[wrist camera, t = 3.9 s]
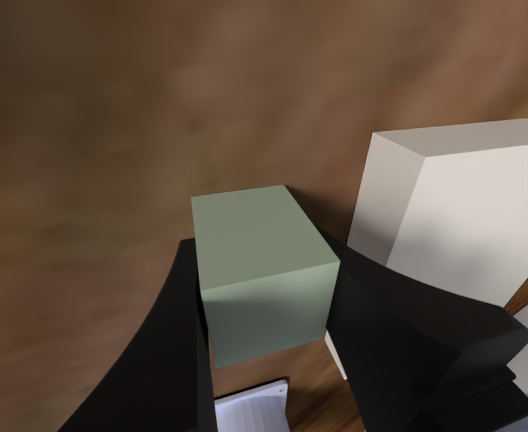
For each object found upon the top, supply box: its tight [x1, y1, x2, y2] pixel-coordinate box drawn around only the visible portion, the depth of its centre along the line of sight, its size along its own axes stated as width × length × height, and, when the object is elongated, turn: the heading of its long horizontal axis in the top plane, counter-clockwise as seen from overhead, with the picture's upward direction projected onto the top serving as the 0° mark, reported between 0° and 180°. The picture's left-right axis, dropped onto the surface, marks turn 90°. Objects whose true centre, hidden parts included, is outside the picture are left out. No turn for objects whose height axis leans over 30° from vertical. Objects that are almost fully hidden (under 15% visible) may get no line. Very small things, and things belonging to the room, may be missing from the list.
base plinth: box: [325, 118, 528, 379], centre depth 16 cm, size 16×12×3 cm
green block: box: [191, 185, 340, 369], centre depth 10 cm, size 4×4×5 cm
